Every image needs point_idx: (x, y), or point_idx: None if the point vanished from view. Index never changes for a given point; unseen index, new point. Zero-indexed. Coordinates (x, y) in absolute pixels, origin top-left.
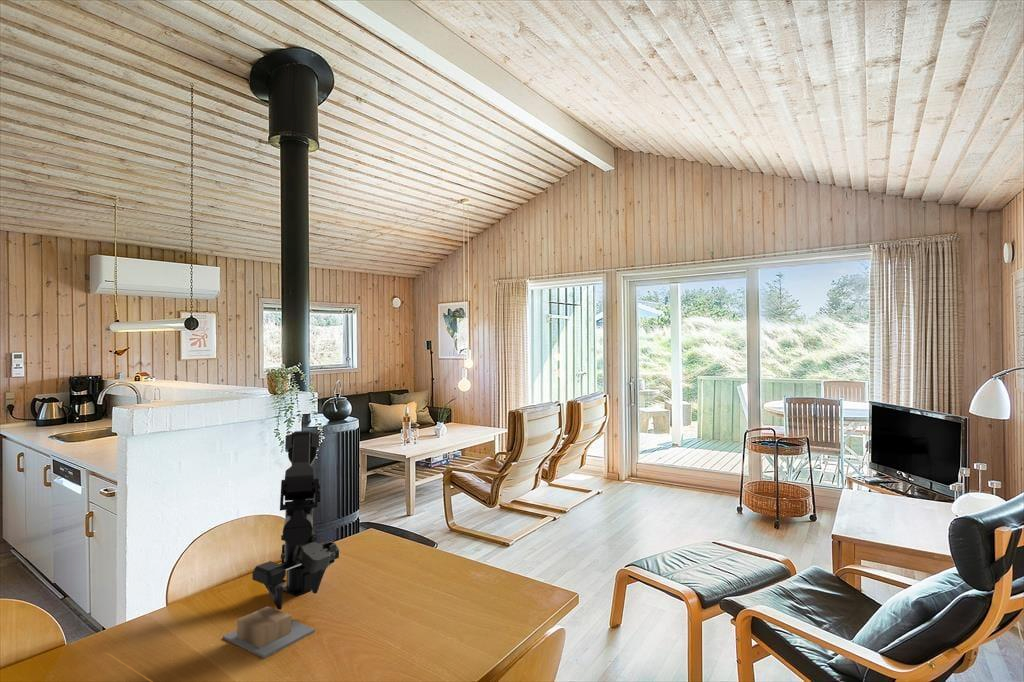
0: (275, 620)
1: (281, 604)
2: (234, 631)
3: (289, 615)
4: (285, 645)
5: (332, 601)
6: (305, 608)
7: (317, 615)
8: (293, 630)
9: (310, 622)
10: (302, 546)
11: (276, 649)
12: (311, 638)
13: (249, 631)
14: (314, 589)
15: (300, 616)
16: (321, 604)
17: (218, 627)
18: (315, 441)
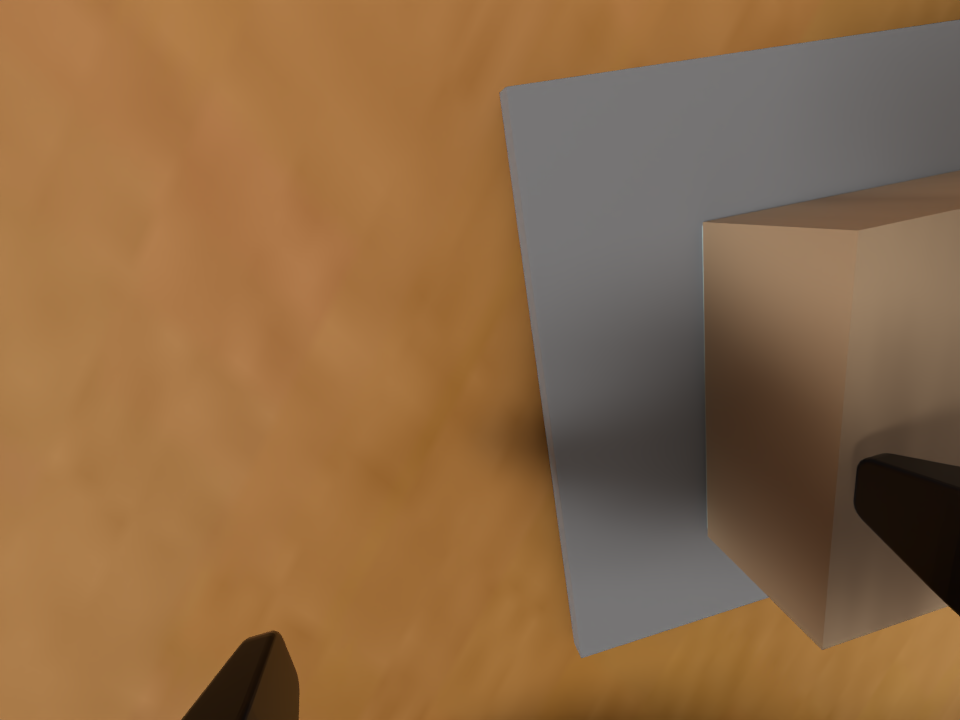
0: None
1: (948, 480)
2: None
3: (872, 246)
4: (846, 37)
5: (30, 611)
6: (329, 620)
7: (301, 429)
8: (657, 251)
9: (422, 342)
10: None
11: (935, 25)
12: (583, 6)
13: None
14: (273, 710)
15: (433, 511)
16: (165, 612)
17: (845, 673)
18: None
